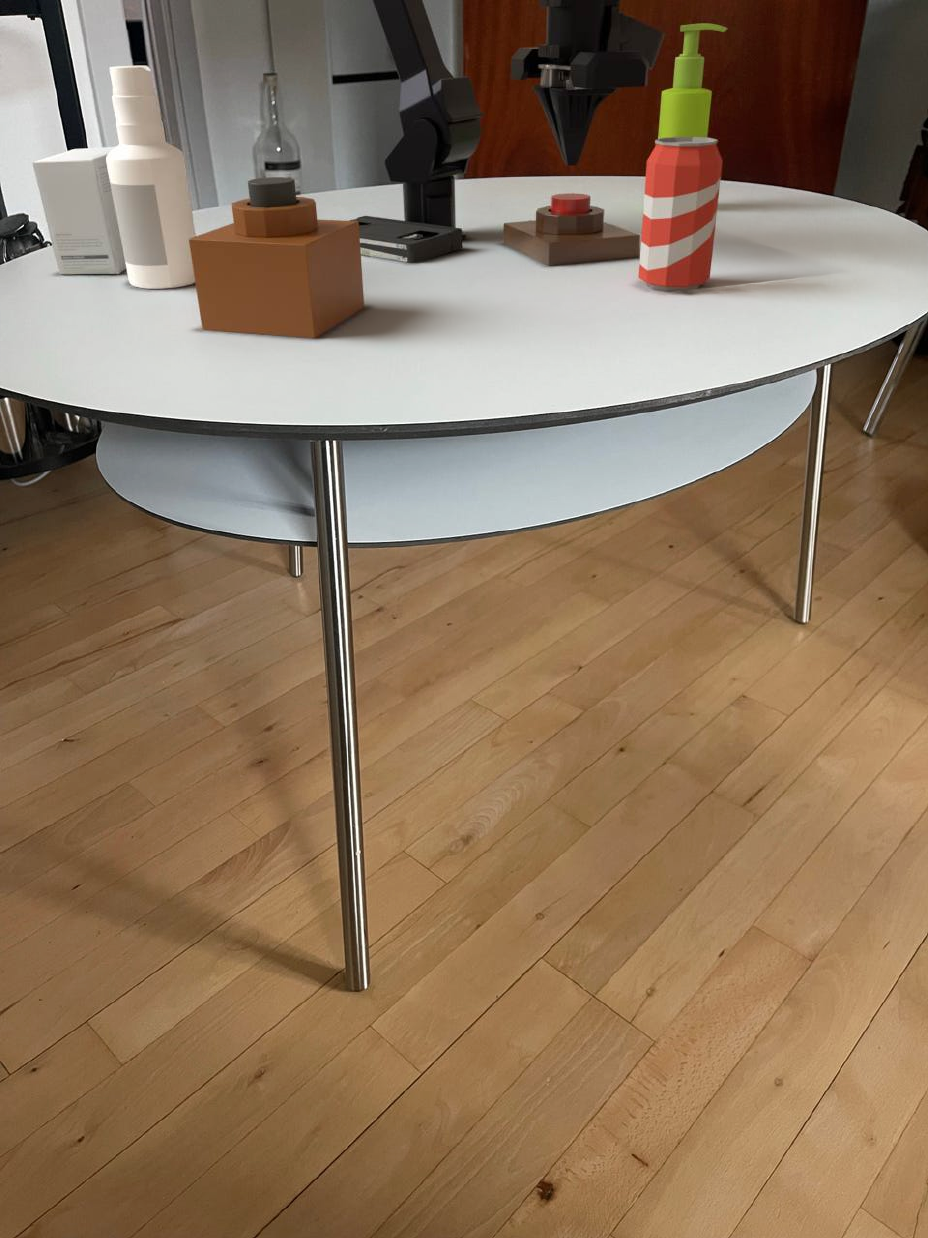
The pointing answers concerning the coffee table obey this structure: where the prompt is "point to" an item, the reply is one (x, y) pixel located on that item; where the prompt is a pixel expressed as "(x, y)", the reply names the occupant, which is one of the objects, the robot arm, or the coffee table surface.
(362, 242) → the vhs tape
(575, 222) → the switch box
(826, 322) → the coffee table surface
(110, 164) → the spray bottle
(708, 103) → the soap dispenser
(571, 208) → the red button
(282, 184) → the dark grey button
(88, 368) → the coffee table surface
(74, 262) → the cosmetics box
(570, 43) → the robot arm
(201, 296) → the brown push button box
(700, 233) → the beverage can
